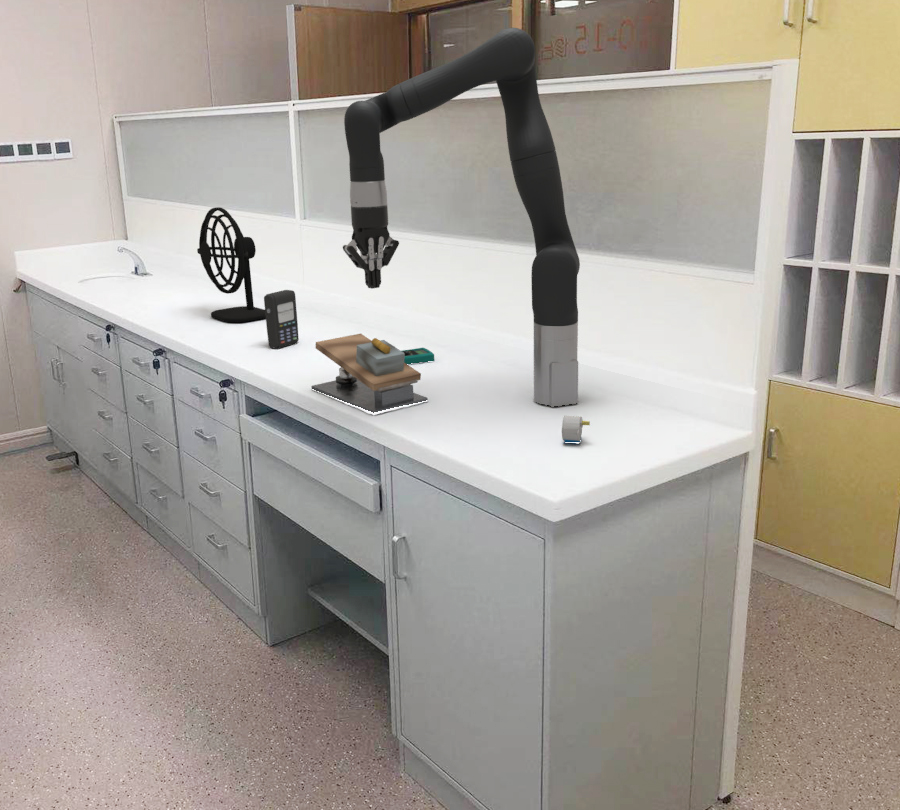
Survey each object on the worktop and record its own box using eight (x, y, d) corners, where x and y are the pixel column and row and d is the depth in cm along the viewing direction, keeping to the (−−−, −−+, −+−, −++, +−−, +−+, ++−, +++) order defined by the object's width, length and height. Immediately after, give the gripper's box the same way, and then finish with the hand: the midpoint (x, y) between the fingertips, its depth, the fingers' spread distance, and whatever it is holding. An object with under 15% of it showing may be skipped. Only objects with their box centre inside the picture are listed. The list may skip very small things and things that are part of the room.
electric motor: (586, 449, 162) (587, 423, 161) (560, 447, 164) (560, 422, 162) (591, 436, 169) (591, 411, 167) (566, 435, 170) (566, 410, 168)
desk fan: (194, 315, 291) (181, 206, 281) (243, 307, 302) (232, 202, 291) (232, 328, 271) (219, 211, 261) (282, 319, 282) (272, 206, 271)
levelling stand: (427, 402, 193) (426, 381, 192) (373, 416, 185) (372, 394, 184) (363, 378, 213) (362, 359, 211) (311, 390, 205) (310, 370, 203)
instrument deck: (421, 382, 192) (424, 350, 188) (374, 393, 185) (376, 360, 181) (360, 340, 208) (362, 311, 205) (315, 349, 201) (316, 319, 198)
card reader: (277, 350, 243) (272, 295, 238) (267, 348, 245) (261, 294, 240) (300, 343, 250) (296, 290, 245) (290, 341, 252) (285, 288, 247)
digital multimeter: (371, 364, 227) (370, 352, 226) (425, 356, 232) (425, 345, 232) (380, 370, 221) (379, 359, 220) (435, 363, 226) (435, 352, 225)
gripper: (350, 207, 176) (356, 294, 181) (406, 202, 183) (409, 285, 188) (331, 205, 181) (337, 289, 186) (385, 200, 189) (389, 281, 194)
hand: (373, 287), depth 187 cm, fingers closed
